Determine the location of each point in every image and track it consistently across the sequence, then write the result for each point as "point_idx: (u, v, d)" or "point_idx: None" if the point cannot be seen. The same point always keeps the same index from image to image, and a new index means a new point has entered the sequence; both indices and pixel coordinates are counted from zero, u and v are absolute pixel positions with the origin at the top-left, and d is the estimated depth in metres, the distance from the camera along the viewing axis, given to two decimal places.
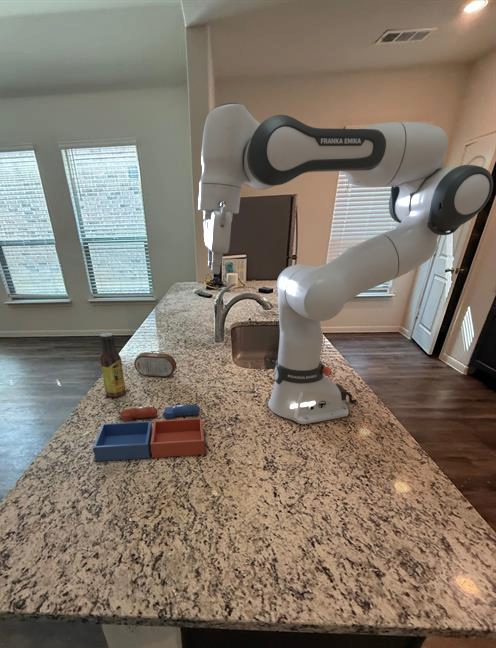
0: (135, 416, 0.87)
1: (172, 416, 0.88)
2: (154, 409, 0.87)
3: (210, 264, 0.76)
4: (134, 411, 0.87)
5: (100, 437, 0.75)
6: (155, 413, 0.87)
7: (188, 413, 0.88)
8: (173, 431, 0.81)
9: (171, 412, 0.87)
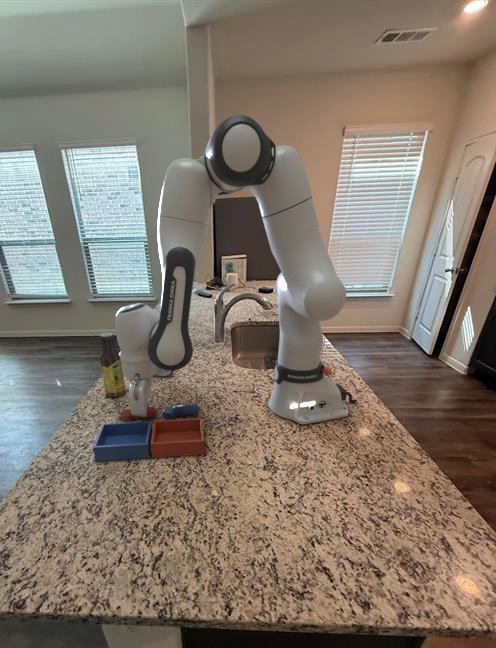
0: (135, 416, 0.87)
1: (172, 416, 0.88)
2: (154, 409, 0.87)
3: None
4: None
5: (100, 437, 0.75)
6: (155, 413, 0.87)
7: (188, 413, 0.88)
8: (173, 431, 0.81)
9: (171, 412, 0.87)
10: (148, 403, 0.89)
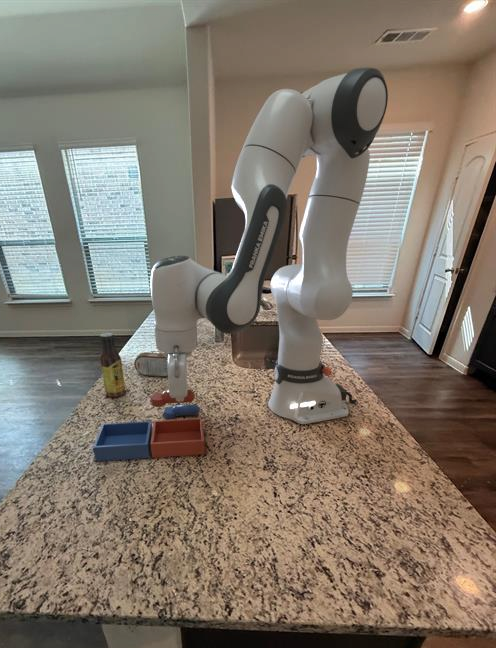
0: (168, 401, 0.72)
1: (172, 416, 0.88)
2: (191, 392, 0.72)
3: None
4: (167, 394, 0.71)
5: (100, 437, 0.75)
6: (193, 397, 0.72)
7: (188, 413, 0.88)
8: (173, 431, 0.81)
9: (171, 412, 0.87)
10: None
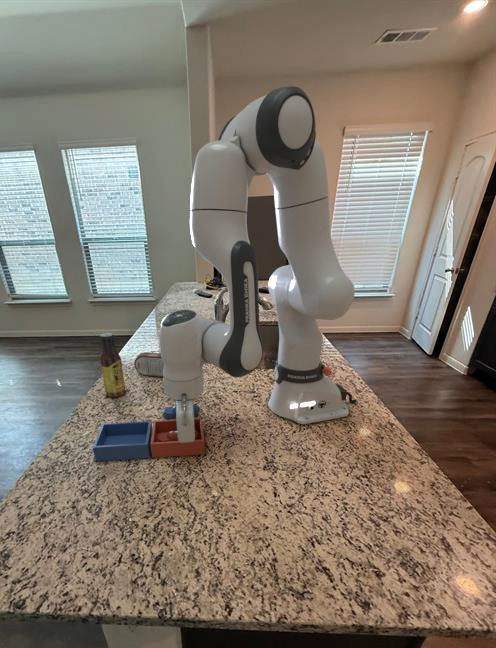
0: None
1: (172, 416, 0.88)
2: (196, 433, 0.76)
3: None
4: (173, 435, 0.76)
5: (100, 437, 0.75)
6: (197, 437, 0.76)
7: None
8: None
9: (171, 412, 0.87)
10: None
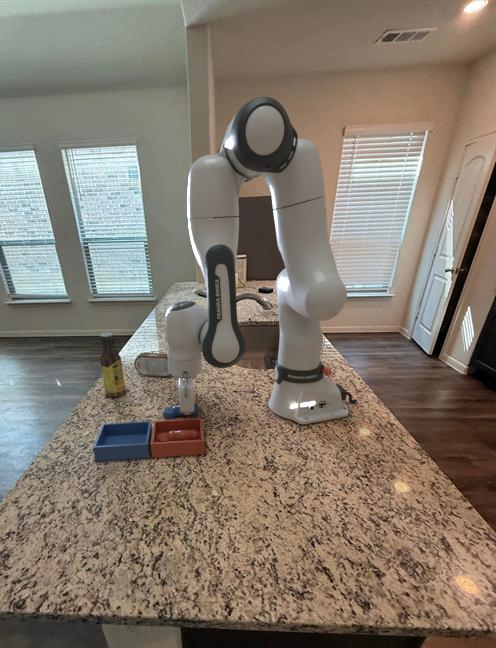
0: None
1: (172, 416, 0.88)
2: (196, 433, 0.76)
3: None
4: (173, 435, 0.76)
5: (100, 437, 0.75)
6: (197, 437, 0.76)
7: None
8: None
9: (171, 412, 0.87)
10: None
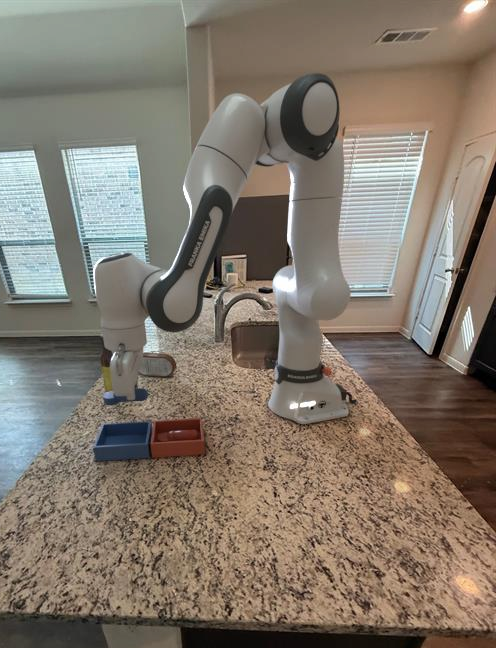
0: None
1: (113, 402, 0.71)
2: (196, 433, 0.76)
3: None
4: (173, 435, 0.76)
5: (100, 437, 0.75)
6: (197, 437, 0.76)
7: None
8: None
9: (111, 397, 0.71)
10: (137, 384, 0.73)
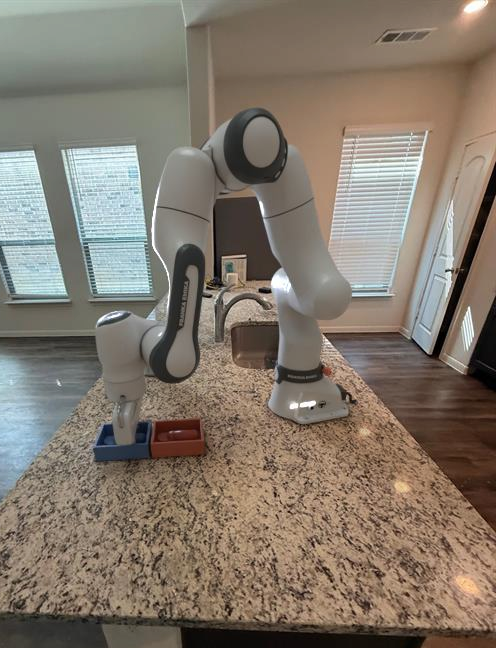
0: None
1: None
2: (196, 433, 0.76)
3: None
4: (173, 435, 0.76)
5: (100, 437, 0.75)
6: (197, 437, 0.76)
7: None
8: None
9: (112, 443, 0.75)
10: (138, 423, 0.78)
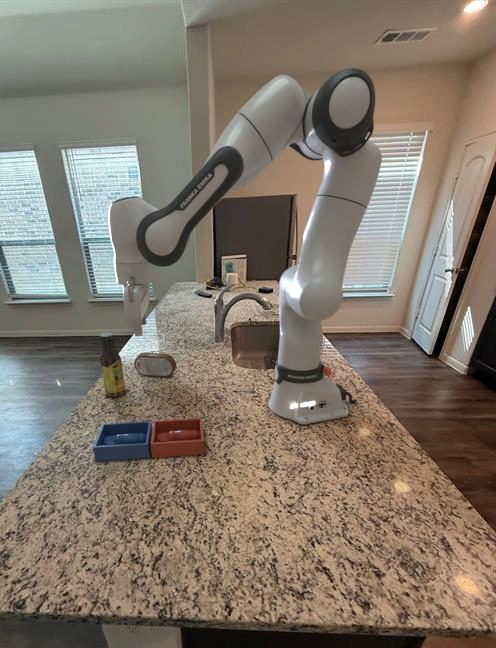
0: None
1: None
2: (196, 433, 0.76)
3: (141, 322, 0.85)
4: (173, 435, 0.76)
5: (100, 437, 0.75)
6: (197, 437, 0.76)
7: None
8: None
9: (112, 443, 0.75)
10: (145, 319, 0.86)
